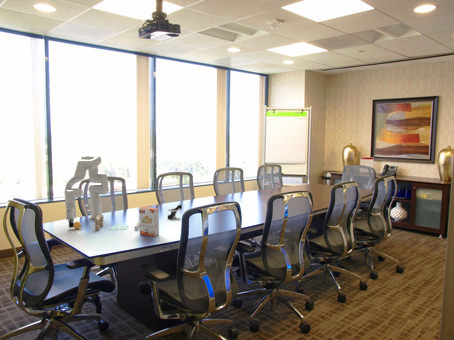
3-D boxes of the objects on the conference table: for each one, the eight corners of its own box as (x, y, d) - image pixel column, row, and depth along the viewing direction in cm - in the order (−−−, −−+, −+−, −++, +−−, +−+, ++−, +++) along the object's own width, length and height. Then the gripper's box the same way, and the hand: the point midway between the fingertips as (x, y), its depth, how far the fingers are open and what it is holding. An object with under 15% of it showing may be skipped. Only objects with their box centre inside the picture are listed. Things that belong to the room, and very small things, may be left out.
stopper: (138, 224, 313) (138, 220, 313) (140, 224, 314) (140, 220, 313) (134, 230, 294) (134, 226, 293) (137, 230, 294) (137, 226, 293)
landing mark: (112, 226, 308) (112, 225, 308) (128, 225, 309) (128, 225, 309) (109, 229, 295) (109, 229, 295) (126, 229, 296) (126, 229, 296)
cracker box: (139, 234, 280) (138, 207, 278) (144, 232, 286) (143, 206, 284) (154, 236, 274) (154, 209, 272) (159, 234, 280) (158, 207, 278)
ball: (74, 227, 301) (74, 220, 301) (82, 227, 302) (82, 220, 301) (72, 229, 295) (72, 222, 295) (79, 229, 296) (79, 222, 295)
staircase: (167, 219, 334) (167, 206, 333) (174, 217, 343) (173, 204, 342) (175, 220, 330) (175, 207, 329) (181, 218, 339) (181, 205, 338)
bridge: (95, 230, 293) (94, 218, 292) (99, 226, 308) (99, 214, 307) (99, 230, 293) (98, 218, 292) (103, 226, 308) (103, 214, 307)
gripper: (72, 206, 289) (72, 229, 291) (78, 203, 304) (79, 225, 306) (62, 206, 289) (63, 229, 290) (69, 203, 303) (69, 225, 305)
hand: (71, 227), depth 298 cm, fingers closed
